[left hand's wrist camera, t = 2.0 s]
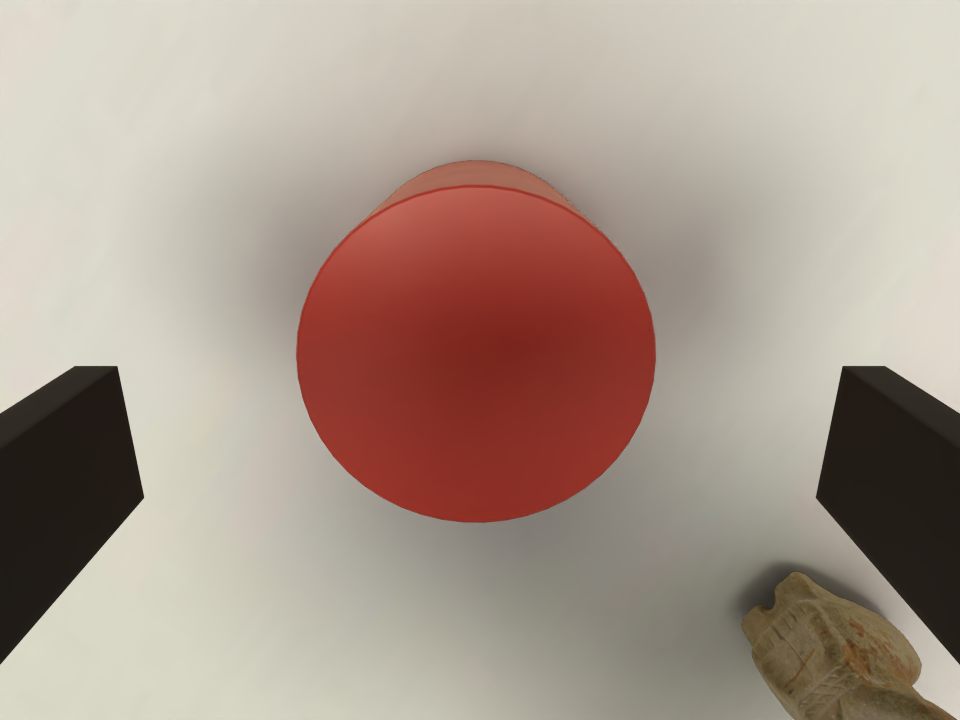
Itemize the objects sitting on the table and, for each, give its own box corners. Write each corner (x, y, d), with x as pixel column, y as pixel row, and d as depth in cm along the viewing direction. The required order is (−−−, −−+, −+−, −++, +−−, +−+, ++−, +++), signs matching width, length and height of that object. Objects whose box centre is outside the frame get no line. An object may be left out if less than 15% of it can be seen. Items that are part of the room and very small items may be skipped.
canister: (596, 153, 23) (664, 173, 15) (594, 388, 26) (650, 516, 18) (343, 167, 23) (268, 195, 15) (370, 399, 26) (321, 531, 18)
